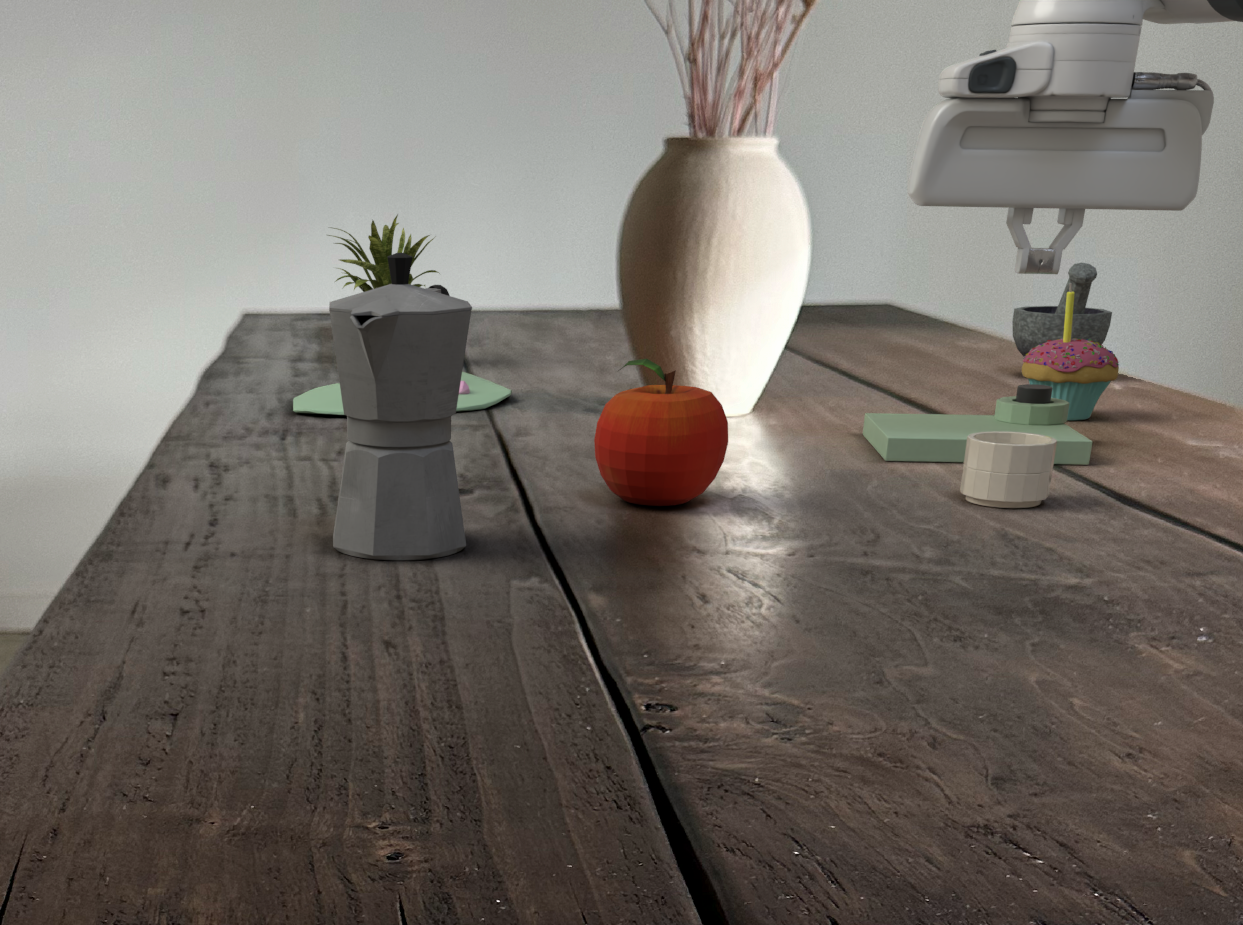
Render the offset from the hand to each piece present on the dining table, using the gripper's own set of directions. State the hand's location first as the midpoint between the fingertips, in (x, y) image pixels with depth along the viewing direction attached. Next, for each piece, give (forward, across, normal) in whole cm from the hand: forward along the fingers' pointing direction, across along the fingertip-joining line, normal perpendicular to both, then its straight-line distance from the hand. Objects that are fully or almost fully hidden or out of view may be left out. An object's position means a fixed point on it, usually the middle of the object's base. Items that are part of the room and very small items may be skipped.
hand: (1036, 273), depth 129 cm
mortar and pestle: (+15, -16, -57) cm, 61 cm away
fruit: (+15, +27, +16) cm, 35 cm away
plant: (+16, +52, -31) cm, 63 cm away
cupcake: (+15, -11, -29) cm, 35 cm away
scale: (+15, +1, -10) cm, 18 cm away
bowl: (+15, +2, +12) cm, 19 cm away
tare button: (+12, -4, -14) cm, 19 cm away
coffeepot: (+16, +44, +31) cm, 56 cm away
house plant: (+16, +58, -60) cm, 85 cm away
